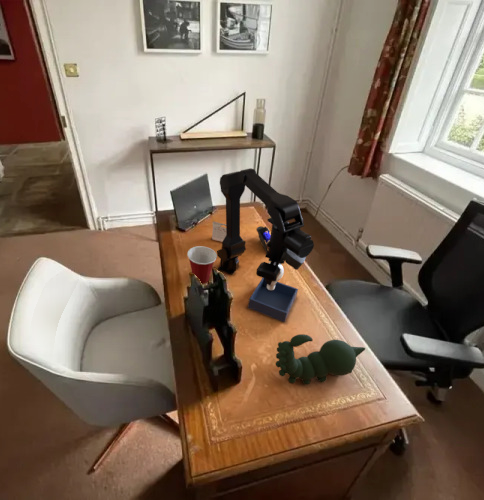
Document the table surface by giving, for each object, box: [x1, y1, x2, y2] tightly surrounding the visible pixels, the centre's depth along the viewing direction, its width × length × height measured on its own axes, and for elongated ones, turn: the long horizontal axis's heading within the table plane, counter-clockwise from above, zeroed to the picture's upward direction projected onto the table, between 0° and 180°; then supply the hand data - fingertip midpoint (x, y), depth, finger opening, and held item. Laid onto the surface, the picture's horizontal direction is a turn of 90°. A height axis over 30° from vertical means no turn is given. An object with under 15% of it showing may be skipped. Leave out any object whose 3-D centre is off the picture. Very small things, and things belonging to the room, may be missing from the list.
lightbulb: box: [267, 261, 285, 290], centre depth 103 cm, size 6×6×11 cm
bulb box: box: [247, 277, 299, 323], centre depth 111 cm, size 13×13×4 cm
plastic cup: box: [186, 245, 218, 285], centre depth 118 cm, size 11×11×12 cm
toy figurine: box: [275, 333, 366, 386], centre depth 85 cm, size 9×19×25 cm
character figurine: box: [256, 226, 271, 253], centre depth 138 cm, size 8×7×15 cm
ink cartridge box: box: [211, 221, 226, 243], centre depth 139 cm, size 2×11×10 cm, turn 67°
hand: (272, 278), depth 104 cm, fingers closed on lightbulb, 6 cm apart
